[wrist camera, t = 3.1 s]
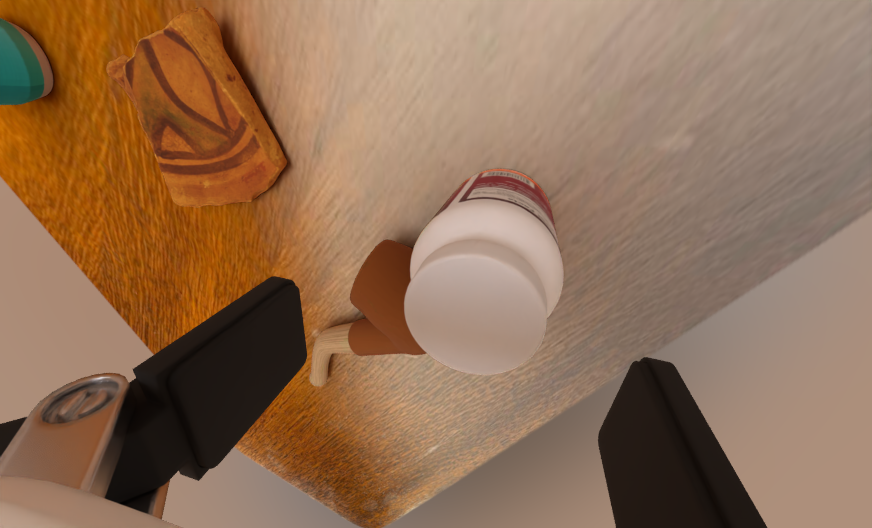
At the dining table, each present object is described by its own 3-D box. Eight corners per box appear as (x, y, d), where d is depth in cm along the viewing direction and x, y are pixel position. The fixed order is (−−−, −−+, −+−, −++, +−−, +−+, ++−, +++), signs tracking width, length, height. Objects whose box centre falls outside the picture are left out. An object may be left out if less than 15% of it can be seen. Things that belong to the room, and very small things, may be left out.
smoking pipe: (487, 282, 22) (474, 334, 17) (364, 405, 31) (332, 462, 26) (403, 216, 22) (365, 250, 17) (303, 360, 31) (258, 411, 26)
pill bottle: (477, 276, 22) (435, 407, 13) (432, 196, 21) (345, 276, 11) (569, 241, 20) (604, 372, 10) (525, 145, 18) (519, 192, 8)
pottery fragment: (174, -11, 16) (248, 189, 18) (252, 25, 20) (305, 185, 22) (75, 68, 20) (145, 226, 22) (158, 85, 24) (211, 216, 26)
